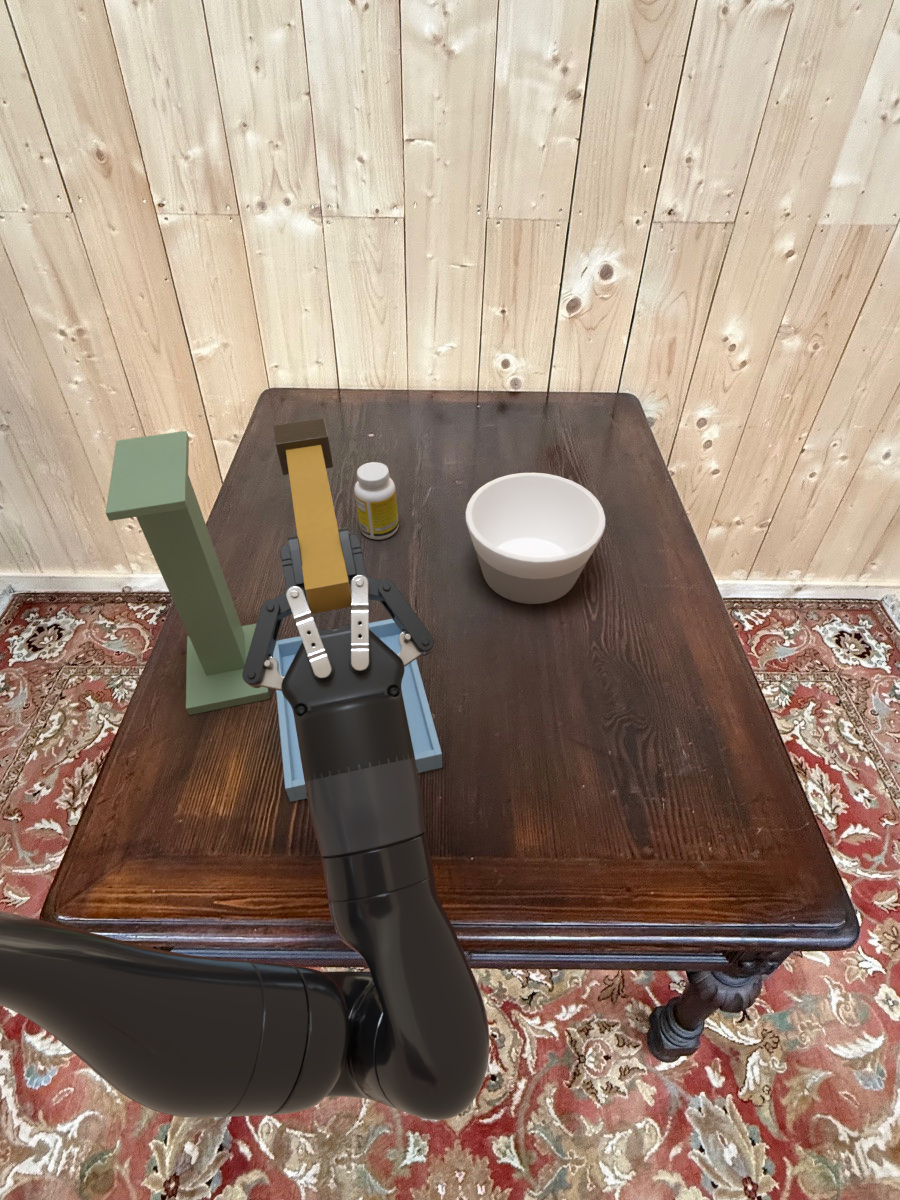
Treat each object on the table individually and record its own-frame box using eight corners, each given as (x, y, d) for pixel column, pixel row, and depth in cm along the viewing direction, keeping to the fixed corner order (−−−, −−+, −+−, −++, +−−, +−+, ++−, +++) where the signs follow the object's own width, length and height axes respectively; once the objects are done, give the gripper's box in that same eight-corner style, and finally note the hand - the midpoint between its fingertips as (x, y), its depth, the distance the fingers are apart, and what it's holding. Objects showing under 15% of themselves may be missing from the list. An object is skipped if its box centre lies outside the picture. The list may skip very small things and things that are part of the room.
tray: (290, 802, 78) (285, 788, 75) (276, 656, 92) (271, 641, 90) (442, 767, 80) (442, 753, 78) (405, 631, 95) (404, 616, 92)
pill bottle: (404, 519, 111) (399, 462, 103) (391, 544, 107) (386, 486, 99) (367, 512, 112) (360, 455, 104) (354, 537, 108) (345, 480, 100)
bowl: (568, 635, 94) (578, 579, 86) (442, 591, 100) (441, 535, 92) (611, 549, 106) (623, 493, 98) (496, 514, 112) (499, 458, 104)
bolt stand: (189, 715, 86) (87, 515, 62) (190, 643, 94) (100, 442, 70) (270, 698, 87) (201, 498, 64) (264, 629, 95) (201, 428, 72)
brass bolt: (301, 616, 49) (292, 584, 46) (280, 456, 62) (273, 425, 60) (362, 604, 49) (357, 572, 47) (329, 448, 63) (323, 417, 60)
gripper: (469, 750, 44) (415, 500, 48) (245, 799, 42) (207, 533, 46) (455, 753, 51) (409, 536, 55) (264, 795, 49) (229, 566, 53)
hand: (318, 536), depth 50 cm, fingers closed on brass bolt, 3 cm apart
